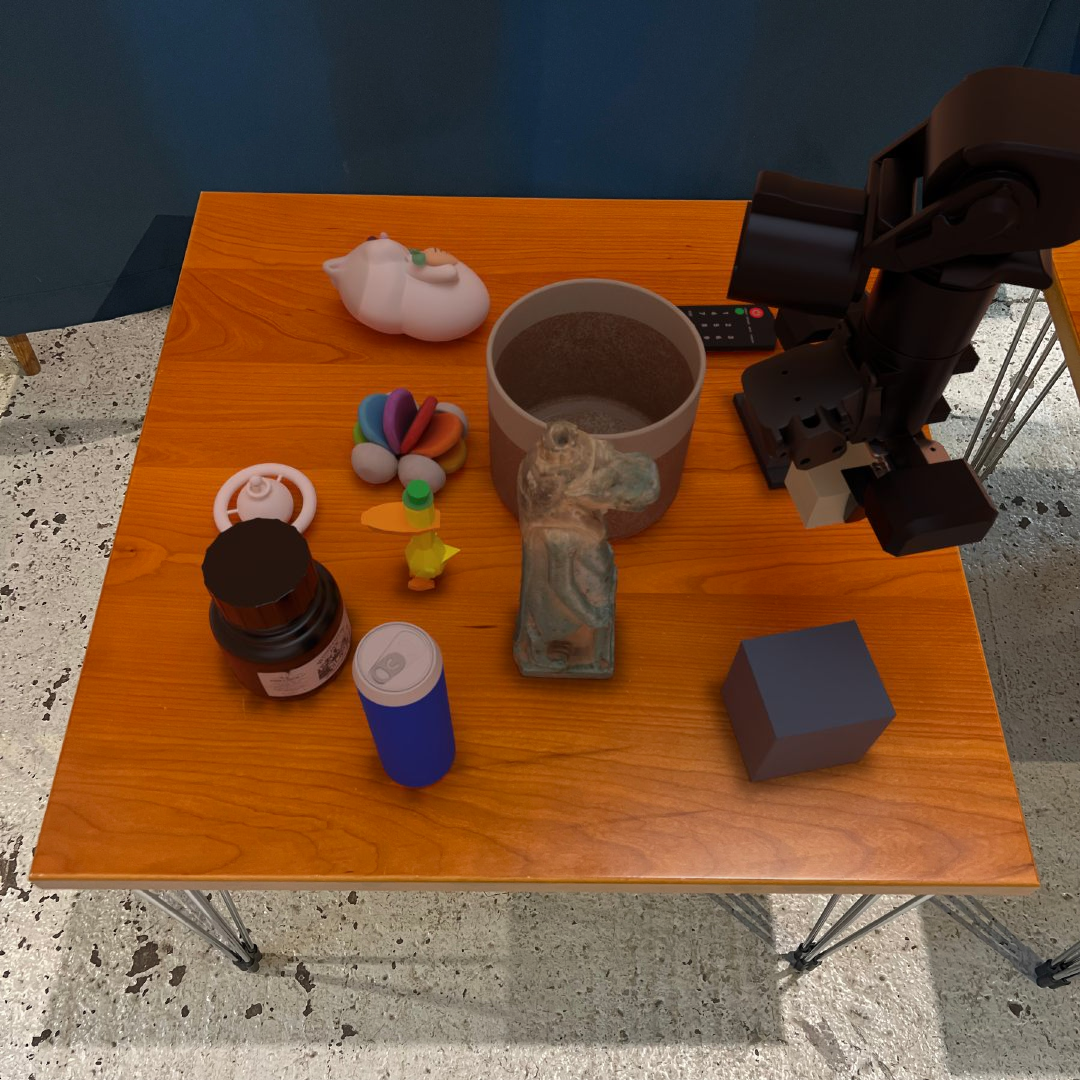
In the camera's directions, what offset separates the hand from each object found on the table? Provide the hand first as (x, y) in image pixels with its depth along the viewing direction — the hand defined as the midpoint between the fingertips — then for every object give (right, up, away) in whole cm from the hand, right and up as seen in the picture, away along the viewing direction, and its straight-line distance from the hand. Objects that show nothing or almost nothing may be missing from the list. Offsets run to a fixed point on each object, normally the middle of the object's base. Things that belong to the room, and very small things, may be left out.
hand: (838, 494), depth 65 cm
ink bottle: (-38, -11, +7) cm, 40 cm away
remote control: (-10, +16, +25) cm, 31 cm away
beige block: (0, 0, 0) cm, 0 cm away
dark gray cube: (-2, -16, +4) cm, 17 cm away
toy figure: (-29, -6, +11) cm, 32 cm away
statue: (-18, -11, +8) cm, 22 cm away
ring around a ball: (-42, -1, +13) cm, 44 cm away
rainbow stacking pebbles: (-31, +4, +17) cm, 35 cm away
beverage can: (-28, -18, +3) cm, 34 cm away
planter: (-16, +3, +17) cm, 23 cm away
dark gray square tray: (+3, +6, +19) cm, 20 cm away
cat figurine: (-32, +17, +26) cm, 45 cm away
